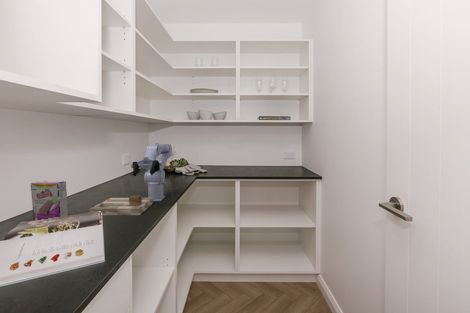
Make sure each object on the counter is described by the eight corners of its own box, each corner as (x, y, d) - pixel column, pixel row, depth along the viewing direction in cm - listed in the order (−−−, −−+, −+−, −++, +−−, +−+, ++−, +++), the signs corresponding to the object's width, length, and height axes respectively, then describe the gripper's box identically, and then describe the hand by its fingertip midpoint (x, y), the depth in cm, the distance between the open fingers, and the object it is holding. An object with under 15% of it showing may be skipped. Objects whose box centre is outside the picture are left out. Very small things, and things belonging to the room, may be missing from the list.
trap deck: (110, 203, 121) (110, 197, 120) (153, 203, 121) (152, 197, 121) (89, 215, 103) (89, 209, 102) (140, 215, 103) (139, 208, 103)
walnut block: (133, 203, 110) (132, 195, 110) (141, 203, 110) (141, 195, 110) (129, 206, 106) (129, 197, 106) (138, 206, 106) (137, 197, 106)
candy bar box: (32, 222, 95) (29, 183, 93) (42, 218, 100) (39, 180, 98) (60, 222, 95) (57, 182, 94) (69, 217, 100) (66, 180, 99)
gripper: (133, 153, 115) (124, 167, 103) (162, 151, 116) (156, 165, 104) (136, 165, 119) (128, 180, 107) (165, 163, 120) (159, 178, 108)
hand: (142, 173), depth 106 cm, fingers open, 7 cm apart
